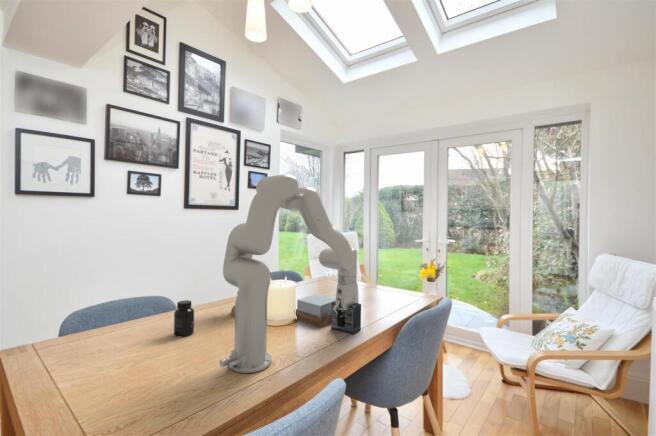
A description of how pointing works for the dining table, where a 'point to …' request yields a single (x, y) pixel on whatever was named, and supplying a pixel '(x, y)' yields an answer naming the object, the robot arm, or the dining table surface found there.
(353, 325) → the small box
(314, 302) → the tower top
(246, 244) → the robot arm
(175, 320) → the supplement bottle
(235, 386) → the dining table surface
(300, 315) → the tower base
